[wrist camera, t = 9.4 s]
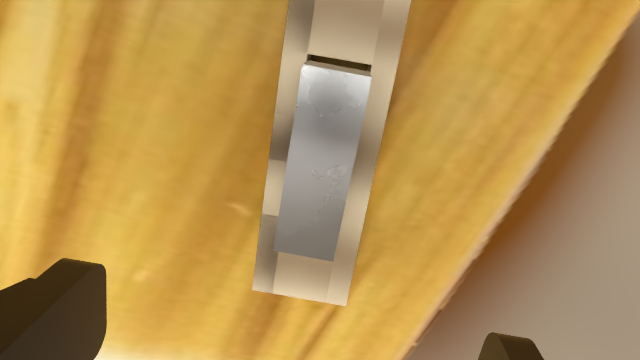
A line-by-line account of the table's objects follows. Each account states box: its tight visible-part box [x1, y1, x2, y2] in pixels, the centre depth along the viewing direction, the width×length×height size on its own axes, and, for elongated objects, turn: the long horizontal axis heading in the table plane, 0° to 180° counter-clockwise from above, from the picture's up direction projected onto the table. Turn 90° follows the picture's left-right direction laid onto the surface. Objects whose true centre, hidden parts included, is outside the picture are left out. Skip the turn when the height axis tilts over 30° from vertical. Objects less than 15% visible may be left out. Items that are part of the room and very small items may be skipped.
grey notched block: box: [273, 60, 372, 262], centre depth 24 cm, size 9×3×8 cm, turn 170°
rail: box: [252, 0, 411, 306], centre depth 26 cm, size 20×6×4 cm, turn 171°
